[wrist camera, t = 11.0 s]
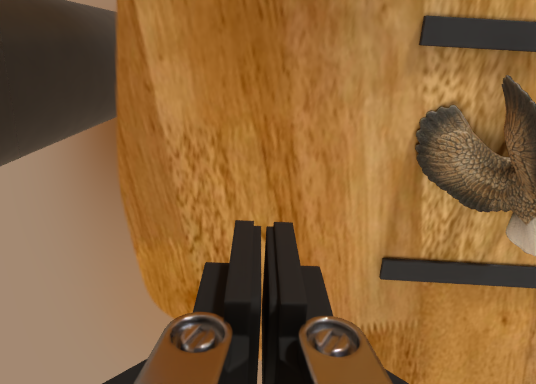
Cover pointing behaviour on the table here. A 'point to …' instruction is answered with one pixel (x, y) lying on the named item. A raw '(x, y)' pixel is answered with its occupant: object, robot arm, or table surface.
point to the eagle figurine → (486, 163)
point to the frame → (479, 37)
